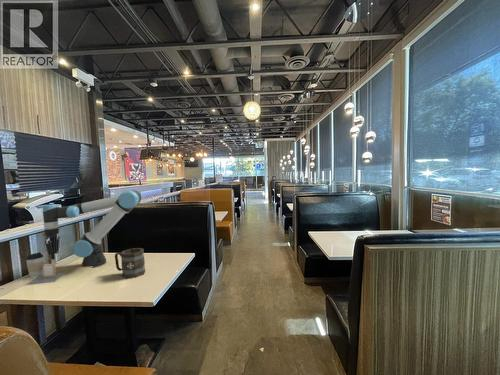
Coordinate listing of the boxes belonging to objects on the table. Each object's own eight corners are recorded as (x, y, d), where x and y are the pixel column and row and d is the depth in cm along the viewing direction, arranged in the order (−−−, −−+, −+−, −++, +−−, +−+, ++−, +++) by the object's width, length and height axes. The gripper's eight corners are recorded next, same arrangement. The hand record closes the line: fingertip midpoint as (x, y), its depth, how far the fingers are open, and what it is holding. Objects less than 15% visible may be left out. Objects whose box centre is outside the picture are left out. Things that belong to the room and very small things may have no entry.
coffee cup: (35, 279, 165) (33, 256, 164) (23, 279, 167) (21, 256, 166) (48, 274, 174) (46, 251, 173) (37, 273, 176) (35, 251, 175)
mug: (150, 270, 169) (148, 248, 169) (136, 279, 156) (134, 254, 155) (124, 269, 174) (122, 247, 173) (108, 277, 161) (106, 253, 160)
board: (68, 274, 171) (67, 272, 171) (54, 283, 156) (54, 281, 156) (40, 277, 169) (40, 275, 168) (24, 287, 153) (23, 285, 153)
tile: (56, 275, 166) (54, 263, 166) (54, 276, 164) (53, 264, 164) (45, 276, 165) (44, 264, 165) (43, 277, 163) (42, 265, 163)
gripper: (50, 226, 176) (53, 261, 177) (38, 230, 163) (42, 267, 164) (63, 225, 177) (66, 260, 178) (52, 229, 164) (55, 266, 165)
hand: (54, 263), depth 171 cm, fingers closed
